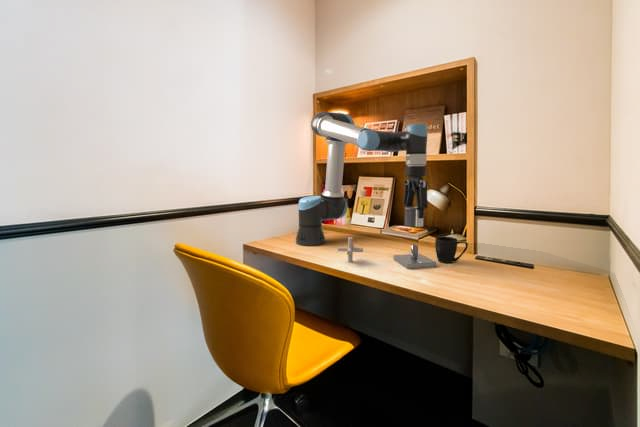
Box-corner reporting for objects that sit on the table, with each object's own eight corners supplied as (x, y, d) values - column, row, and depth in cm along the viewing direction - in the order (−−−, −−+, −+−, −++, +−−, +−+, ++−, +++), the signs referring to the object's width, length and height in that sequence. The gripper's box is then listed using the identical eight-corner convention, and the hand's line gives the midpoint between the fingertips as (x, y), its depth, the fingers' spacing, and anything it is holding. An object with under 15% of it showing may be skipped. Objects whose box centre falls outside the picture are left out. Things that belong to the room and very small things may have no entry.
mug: (465, 267, 121) (467, 243, 120) (432, 262, 127) (433, 239, 126) (467, 261, 128) (468, 238, 127) (436, 257, 134) (437, 235, 133)
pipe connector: (361, 266, 124) (362, 241, 122) (336, 264, 126) (336, 240, 124) (363, 258, 133) (363, 235, 132) (339, 257, 135) (340, 234, 134)
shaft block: (393, 259, 131) (393, 242, 130) (419, 258, 134) (420, 240, 133) (407, 269, 120) (407, 249, 119) (435, 266, 122) (436, 247, 121)
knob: (401, 224, 127) (401, 206, 126) (417, 223, 129) (418, 205, 128) (410, 227, 120) (410, 208, 119) (427, 226, 122) (427, 207, 121)
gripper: (395, 166, 130) (394, 221, 133) (420, 165, 111) (418, 229, 114) (412, 165, 132) (410, 220, 135) (439, 165, 112) (437, 228, 115)
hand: (414, 224), depth 124 cm, fingers closed on knob, 7 cm apart
